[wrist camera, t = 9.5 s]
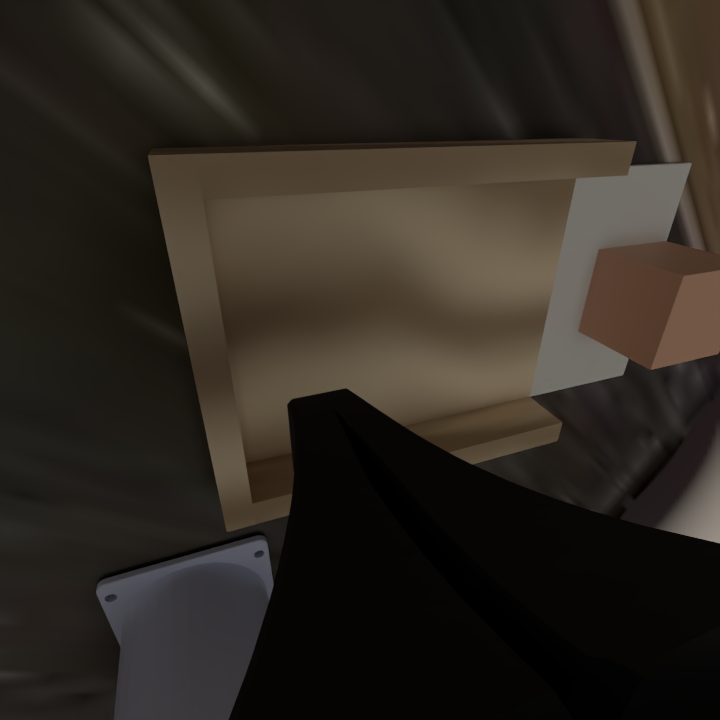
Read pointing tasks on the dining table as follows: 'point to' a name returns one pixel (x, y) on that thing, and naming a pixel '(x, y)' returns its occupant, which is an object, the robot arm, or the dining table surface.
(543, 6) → the dining table surface
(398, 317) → the tray
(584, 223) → the grey panel
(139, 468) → the dining table surface
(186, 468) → the dining table surface
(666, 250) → the terracotta cube
